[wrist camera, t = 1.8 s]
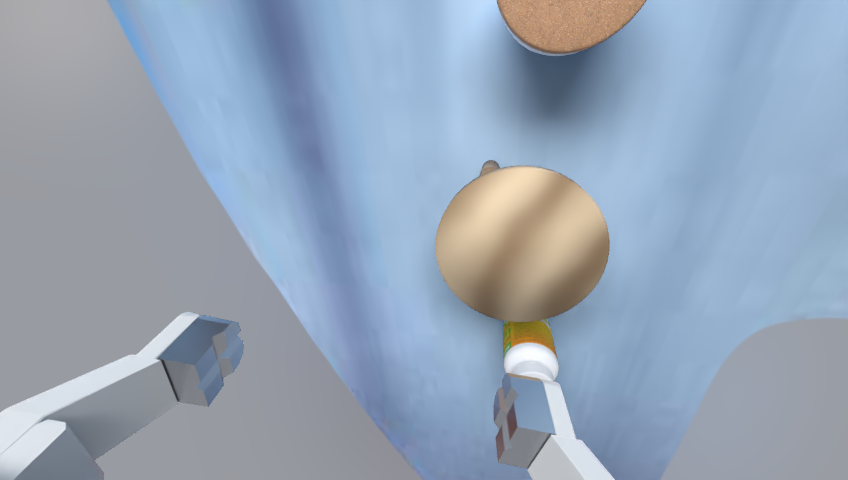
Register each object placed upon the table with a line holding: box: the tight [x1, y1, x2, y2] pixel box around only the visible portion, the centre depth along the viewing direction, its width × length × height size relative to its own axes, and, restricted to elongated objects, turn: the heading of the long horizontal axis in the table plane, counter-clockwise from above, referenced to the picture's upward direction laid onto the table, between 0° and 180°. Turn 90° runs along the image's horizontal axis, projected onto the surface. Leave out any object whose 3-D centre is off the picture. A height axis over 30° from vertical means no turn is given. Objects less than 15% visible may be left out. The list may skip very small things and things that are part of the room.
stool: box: [436, 160, 609, 322], centre depth 32 cm, size 14×14×10 cm
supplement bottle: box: [503, 319, 559, 382], centre depth 36 cm, size 6×6×10 cm
